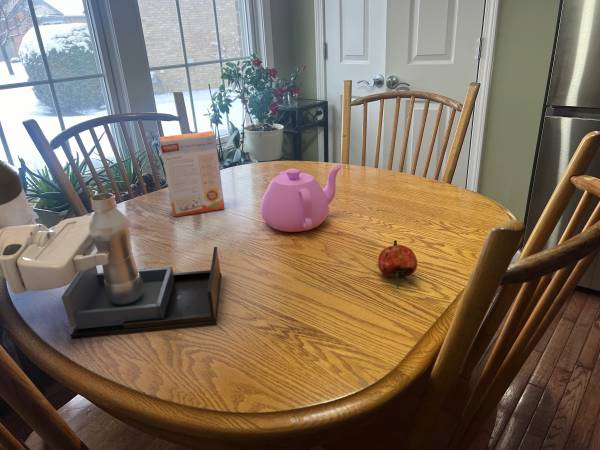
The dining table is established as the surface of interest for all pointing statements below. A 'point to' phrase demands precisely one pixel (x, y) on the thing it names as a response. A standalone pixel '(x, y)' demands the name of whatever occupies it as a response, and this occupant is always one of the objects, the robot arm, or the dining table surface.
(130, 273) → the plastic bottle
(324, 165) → the dining table surface
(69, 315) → the gray sliding drawer
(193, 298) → the base
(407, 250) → the pomegranate
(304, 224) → the teapot
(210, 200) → the cracker box
